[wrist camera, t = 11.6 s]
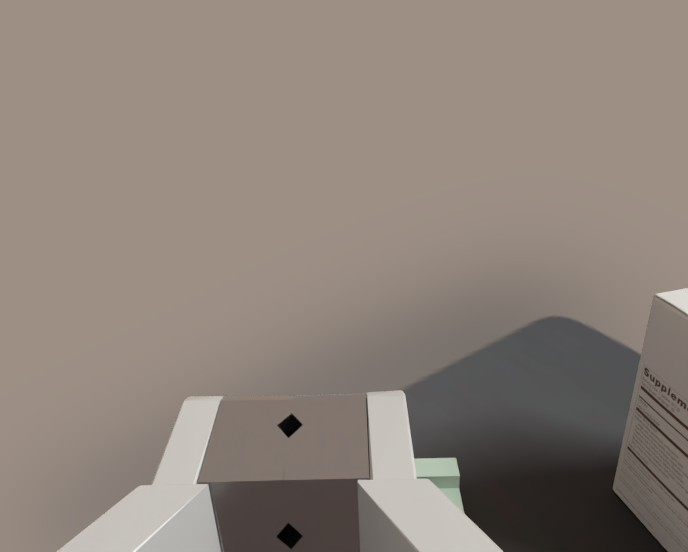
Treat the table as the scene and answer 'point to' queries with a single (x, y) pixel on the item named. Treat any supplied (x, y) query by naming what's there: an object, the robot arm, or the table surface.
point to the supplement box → (659, 427)
